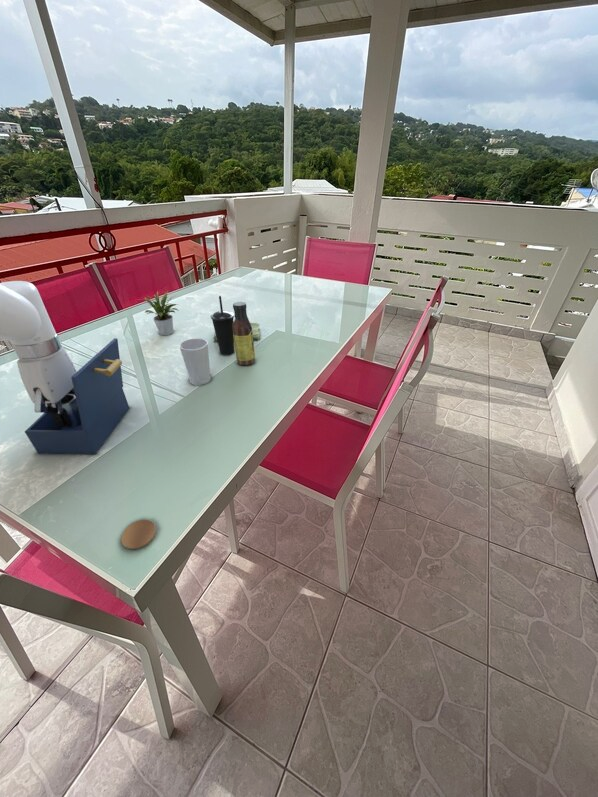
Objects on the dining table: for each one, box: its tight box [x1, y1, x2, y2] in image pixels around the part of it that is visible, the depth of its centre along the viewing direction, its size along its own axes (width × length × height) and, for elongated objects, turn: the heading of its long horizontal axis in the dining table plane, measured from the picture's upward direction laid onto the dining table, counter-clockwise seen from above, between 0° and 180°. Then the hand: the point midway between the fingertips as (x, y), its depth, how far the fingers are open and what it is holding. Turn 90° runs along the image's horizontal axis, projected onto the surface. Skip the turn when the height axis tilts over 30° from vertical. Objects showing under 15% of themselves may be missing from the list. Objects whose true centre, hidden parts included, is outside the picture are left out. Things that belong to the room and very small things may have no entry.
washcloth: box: [213, 322, 261, 342], centre depth 128 cm, size 13×18×3 cm
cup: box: [178, 337, 212, 386], centre depth 98 cm, size 8×8×12 cm
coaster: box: [120, 519, 157, 551], centre depth 58 cm, size 6×6×1 cm
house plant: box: [139, 290, 179, 336], centre depth 125 cm, size 14×14×16 cm
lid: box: [71, 337, 124, 431], centre depth 74 cm, size 14×18×4 cm
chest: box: [24, 387, 130, 455], centre depth 80 cm, size 13×18×7 cm
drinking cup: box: [210, 295, 235, 356], centre depth 111 cm, size 8×8×20 cm
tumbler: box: [51, 394, 82, 429], centre depth 75 cm, size 5×5×6 cm
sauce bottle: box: [232, 301, 256, 366], centre depth 106 cm, size 6×6×20 cm
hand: (71, 417), depth 76 cm, fingers closed on tumbler, 4 cm apart
